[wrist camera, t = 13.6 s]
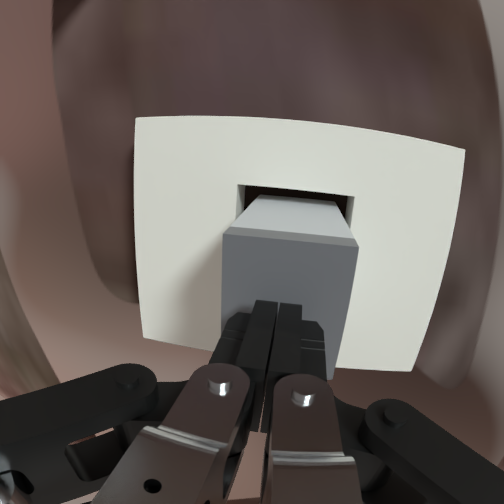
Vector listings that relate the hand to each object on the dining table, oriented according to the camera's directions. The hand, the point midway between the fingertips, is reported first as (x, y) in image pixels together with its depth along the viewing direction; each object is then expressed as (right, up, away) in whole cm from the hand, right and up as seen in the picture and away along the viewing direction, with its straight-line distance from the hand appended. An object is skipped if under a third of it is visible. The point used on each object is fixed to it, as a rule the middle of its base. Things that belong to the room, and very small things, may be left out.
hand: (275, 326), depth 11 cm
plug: (+2, +3, +9) cm, 10 cm away
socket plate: (+2, +3, +9) cm, 10 cm away
